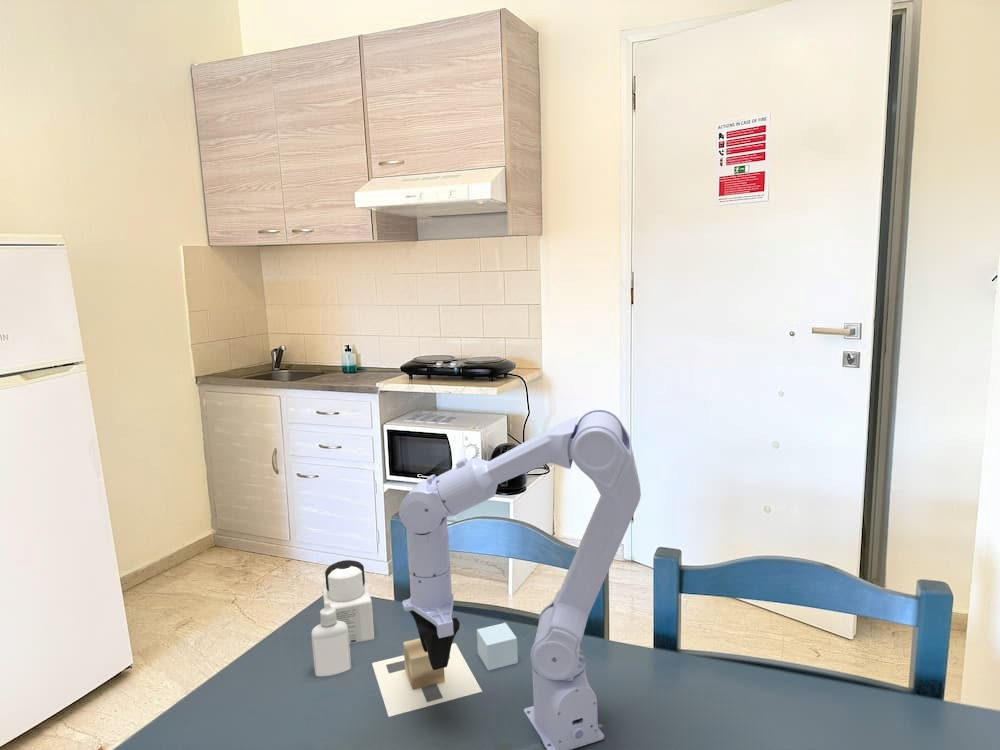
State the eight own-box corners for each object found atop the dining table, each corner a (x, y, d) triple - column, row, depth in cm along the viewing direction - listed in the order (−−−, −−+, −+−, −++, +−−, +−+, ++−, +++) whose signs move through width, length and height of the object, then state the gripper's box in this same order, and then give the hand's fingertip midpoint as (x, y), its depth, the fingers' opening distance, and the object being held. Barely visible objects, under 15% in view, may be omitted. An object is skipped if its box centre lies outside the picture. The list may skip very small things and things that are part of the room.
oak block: (444, 681, 101) (442, 651, 101) (412, 689, 100) (410, 659, 99) (436, 663, 106) (434, 634, 105) (405, 671, 104) (403, 642, 104)
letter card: (482, 695, 99) (482, 691, 99) (388, 720, 94) (388, 716, 94) (455, 646, 112) (455, 642, 112) (372, 666, 107) (371, 662, 107)
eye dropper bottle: (344, 682, 103) (338, 610, 101) (310, 679, 104) (303, 608, 102) (355, 665, 108) (349, 596, 106) (322, 662, 109) (316, 594, 107)
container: (326, 628, 119) (320, 560, 117) (369, 619, 121) (364, 552, 119) (328, 651, 112) (322, 579, 110) (374, 642, 114) (369, 571, 112)
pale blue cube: (518, 667, 106) (516, 638, 105) (488, 674, 104) (486, 645, 103) (506, 650, 110) (505, 622, 109) (478, 657, 109) (476, 629, 108)
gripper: (390, 553, 97) (396, 638, 100) (413, 598, 84) (419, 695, 86) (437, 544, 100) (442, 628, 102) (466, 586, 86) (471, 681, 89)
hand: (435, 658), depth 94 cm, fingers open, 4 cm apart
